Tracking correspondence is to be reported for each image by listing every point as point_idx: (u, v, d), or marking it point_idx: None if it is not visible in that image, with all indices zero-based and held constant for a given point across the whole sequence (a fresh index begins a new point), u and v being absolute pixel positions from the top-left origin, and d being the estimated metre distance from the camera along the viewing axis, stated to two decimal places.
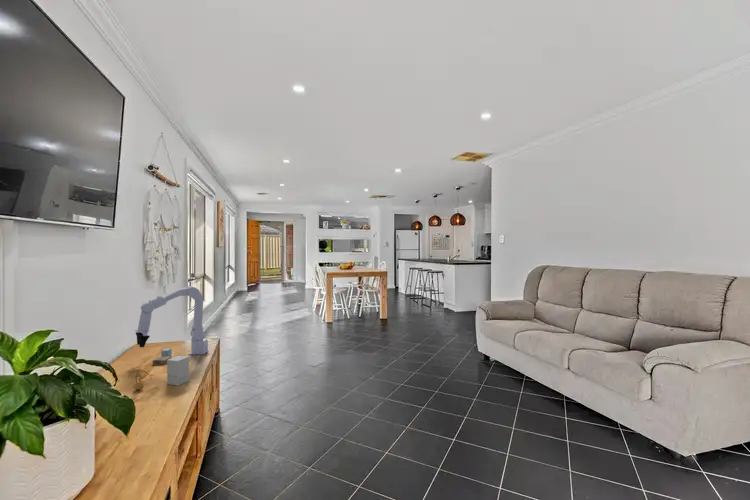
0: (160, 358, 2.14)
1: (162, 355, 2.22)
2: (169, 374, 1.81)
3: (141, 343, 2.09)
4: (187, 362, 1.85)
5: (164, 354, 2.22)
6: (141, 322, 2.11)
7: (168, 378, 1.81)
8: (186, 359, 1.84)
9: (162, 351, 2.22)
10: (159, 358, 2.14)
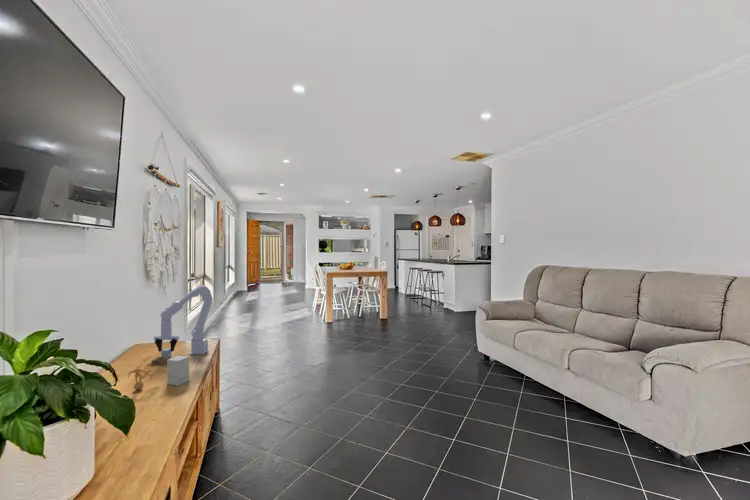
0: (159, 358, 2.13)
1: (162, 355, 2.22)
2: (169, 374, 1.81)
3: (172, 347, 2.23)
4: (187, 362, 1.85)
5: (164, 354, 2.22)
6: (162, 329, 2.21)
7: (168, 378, 1.81)
8: (186, 359, 1.84)
9: (162, 351, 2.22)
10: (158, 358, 2.13)
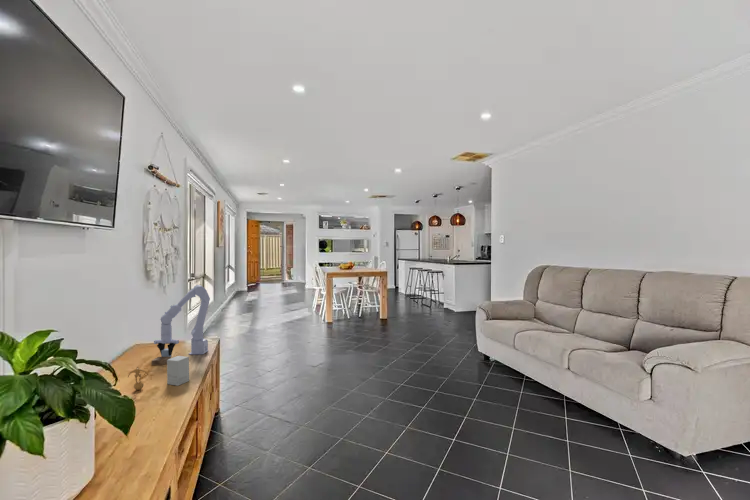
0: (159, 358, 2.13)
1: (162, 355, 2.22)
2: (169, 374, 1.81)
3: (170, 351, 2.24)
4: (187, 362, 1.85)
5: (164, 354, 2.22)
6: (162, 333, 2.21)
7: (168, 378, 1.81)
8: (186, 359, 1.84)
9: (162, 351, 2.22)
10: (158, 358, 2.13)
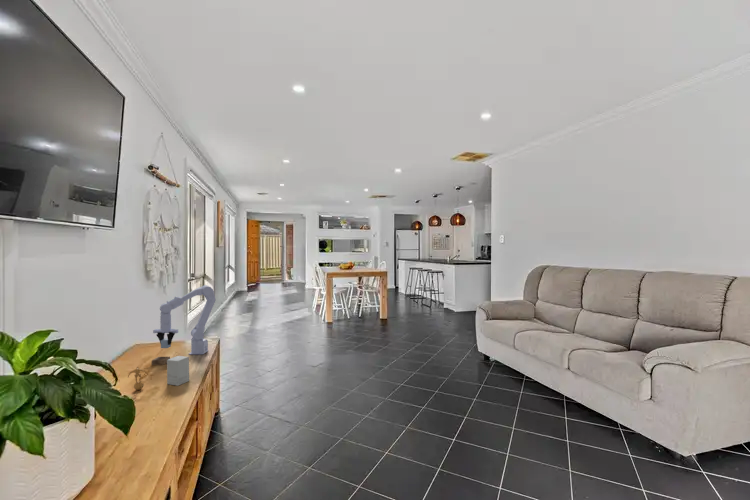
0: (159, 358, 2.13)
1: (161, 345, 2.21)
2: (169, 374, 1.81)
3: (169, 341, 2.22)
4: (187, 362, 1.85)
5: (163, 344, 2.21)
6: (162, 322, 2.20)
7: (168, 378, 1.81)
8: (186, 359, 1.84)
9: (161, 341, 2.21)
10: (158, 358, 2.13)
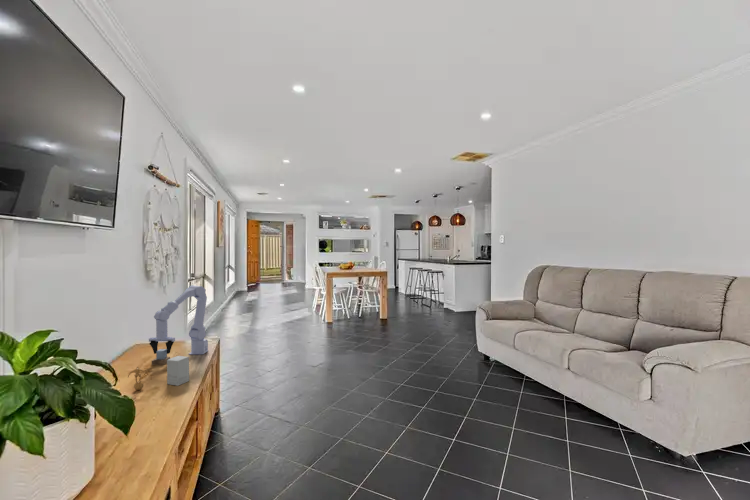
0: None
1: (157, 356, 2.12)
2: (169, 374, 1.81)
3: (168, 349, 2.14)
4: (187, 362, 1.85)
5: (159, 355, 2.12)
6: (160, 331, 2.11)
7: (168, 378, 1.81)
8: (186, 359, 1.84)
9: (157, 352, 2.12)
10: None
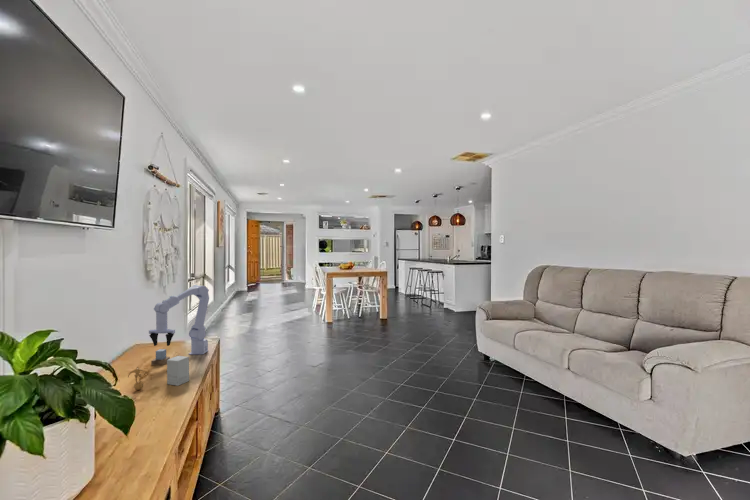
0: None
1: (156, 356, 2.12)
2: (169, 374, 1.81)
3: (168, 341, 2.13)
4: (187, 362, 1.85)
5: (158, 355, 2.12)
6: (160, 323, 2.11)
7: (168, 378, 1.81)
8: (186, 359, 1.84)
9: (156, 352, 2.12)
10: None
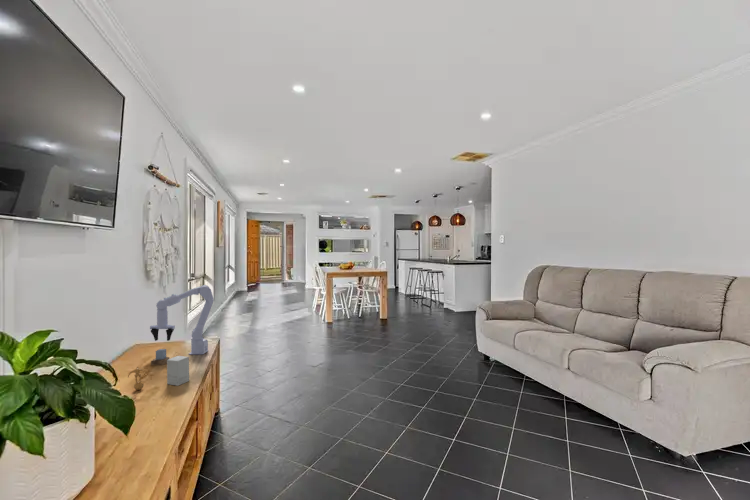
0: None
1: (156, 356, 2.12)
2: (169, 374, 1.81)
3: (168, 337, 2.24)
4: (187, 362, 1.85)
5: (158, 355, 2.12)
6: (158, 319, 2.22)
7: (168, 378, 1.81)
8: (186, 359, 1.84)
9: (156, 352, 2.12)
10: None
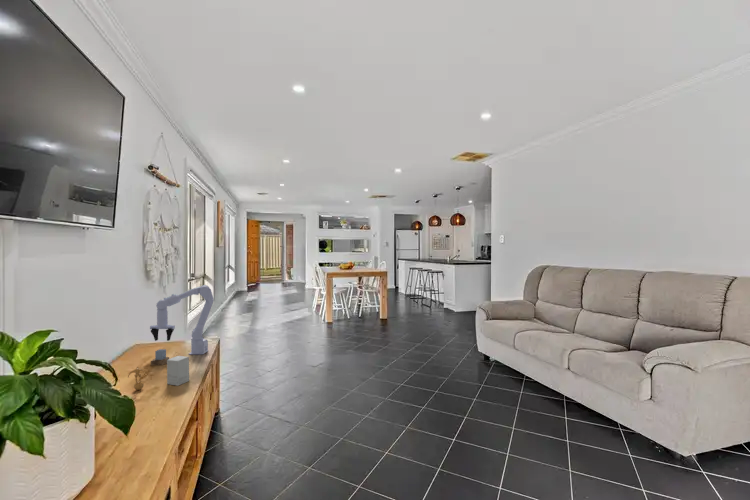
0: None
1: (156, 356, 2.12)
2: (169, 374, 1.81)
3: (168, 337, 2.24)
4: (187, 362, 1.85)
5: (158, 355, 2.12)
6: (158, 319, 2.22)
7: (168, 378, 1.81)
8: (186, 359, 1.84)
9: (156, 352, 2.12)
10: None
